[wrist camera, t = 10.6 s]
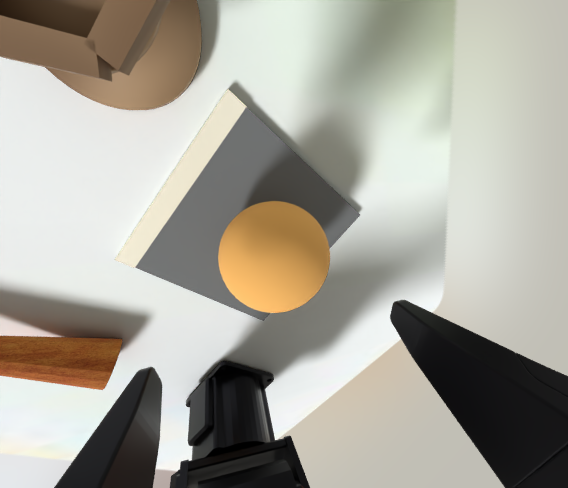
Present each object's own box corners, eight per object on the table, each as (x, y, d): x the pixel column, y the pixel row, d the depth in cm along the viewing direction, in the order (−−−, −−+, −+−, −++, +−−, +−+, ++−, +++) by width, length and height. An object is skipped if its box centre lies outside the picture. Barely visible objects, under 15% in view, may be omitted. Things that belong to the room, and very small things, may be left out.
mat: (116, 255, 15) (114, 260, 15) (227, 89, 13) (227, 88, 12) (262, 317, 21) (263, 321, 21) (357, 212, 18) (361, 215, 18)
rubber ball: (310, 248, 19) (361, 211, 13) (288, 330, 16) (342, 326, 10) (234, 214, 18) (255, 157, 12) (196, 297, 15) (201, 272, 9)
